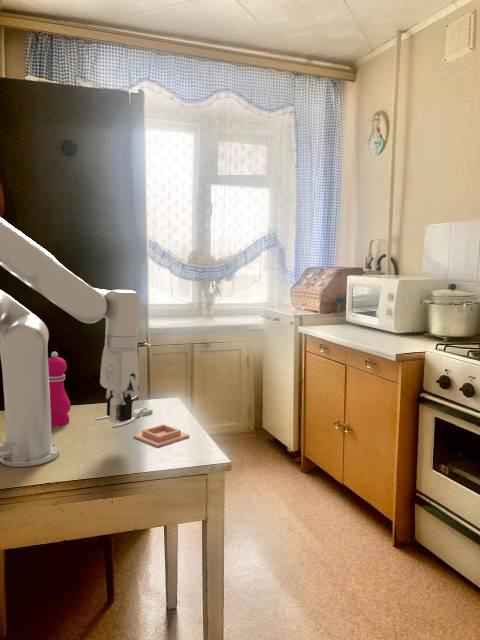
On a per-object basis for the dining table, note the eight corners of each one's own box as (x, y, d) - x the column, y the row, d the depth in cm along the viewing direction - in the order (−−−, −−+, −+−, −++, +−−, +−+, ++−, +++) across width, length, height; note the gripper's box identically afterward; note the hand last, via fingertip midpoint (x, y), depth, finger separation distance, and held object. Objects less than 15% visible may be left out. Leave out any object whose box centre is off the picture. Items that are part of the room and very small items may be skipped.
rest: (157, 447, 124) (157, 440, 124) (133, 437, 131) (133, 430, 131) (189, 437, 132) (189, 430, 131) (165, 428, 138) (165, 421, 138)
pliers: (95, 415, 146) (139, 404, 156) (95, 421, 146) (139, 409, 156) (114, 423, 139) (159, 411, 149) (114, 429, 139) (159, 416, 149)
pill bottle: (119, 425, 121) (120, 392, 120) (105, 421, 123) (106, 389, 122) (132, 420, 125) (133, 389, 124) (118, 417, 127) (119, 386, 126)
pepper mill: (37, 425, 141) (34, 353, 138) (55, 417, 147) (52, 348, 145) (60, 428, 138) (56, 354, 136) (76, 420, 145) (73, 350, 143)
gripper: (88, 338, 125) (86, 412, 127) (128, 348, 113) (125, 429, 115) (115, 336, 130) (113, 407, 132) (156, 346, 119) (153, 423, 121)
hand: (119, 416), depth 124 cm, fingers closed on pill bottle, 4 cm apart
